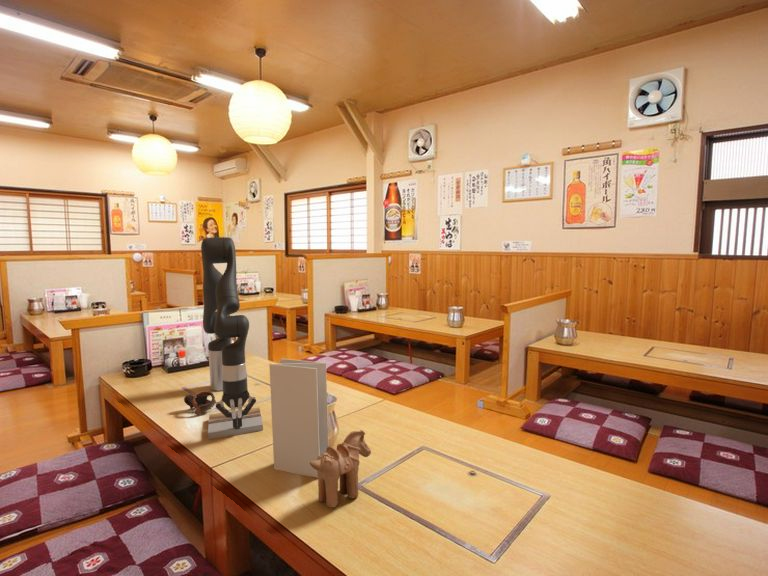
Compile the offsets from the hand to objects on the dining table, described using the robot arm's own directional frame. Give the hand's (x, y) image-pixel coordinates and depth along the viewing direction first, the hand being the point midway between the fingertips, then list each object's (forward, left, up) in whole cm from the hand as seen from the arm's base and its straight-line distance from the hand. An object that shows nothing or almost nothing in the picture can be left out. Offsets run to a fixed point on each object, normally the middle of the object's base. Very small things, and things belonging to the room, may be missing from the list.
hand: (237, 428), depth 138 cm
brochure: (+29, +16, -2) cm, 33 cm away
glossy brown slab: (-11, -1, -2) cm, 12 cm away
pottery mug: (-26, -13, -2) cm, 29 cm away
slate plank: (-3, -1, -2) cm, 4 cm away
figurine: (+45, +23, -2) cm, 51 cm away
